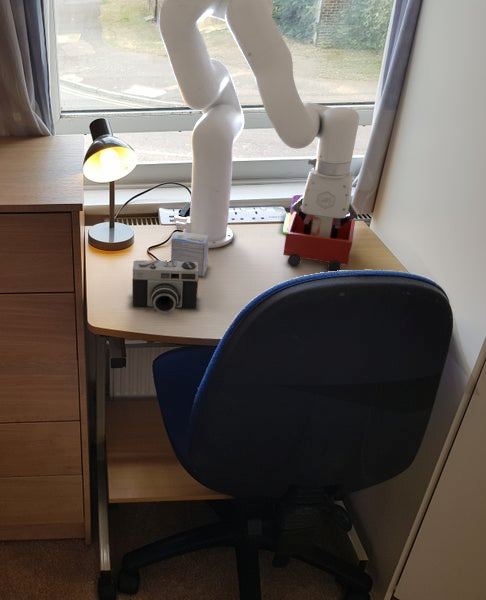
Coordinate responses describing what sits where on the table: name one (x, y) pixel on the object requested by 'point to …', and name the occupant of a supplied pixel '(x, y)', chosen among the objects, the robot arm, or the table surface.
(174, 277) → the camera
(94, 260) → the table surface
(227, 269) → the table surface
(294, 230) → the cart
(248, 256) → the table surface
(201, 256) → the medicine box
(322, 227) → the white carton box
